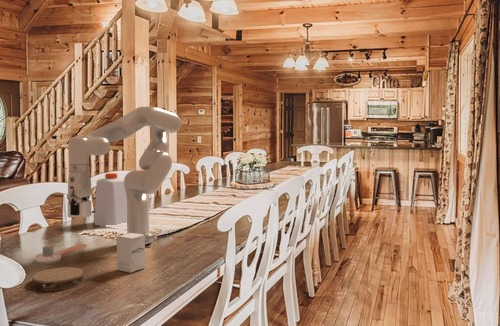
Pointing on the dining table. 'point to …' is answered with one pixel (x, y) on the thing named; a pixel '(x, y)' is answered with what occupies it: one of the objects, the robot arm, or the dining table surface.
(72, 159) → the robot arm
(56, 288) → the tambourine
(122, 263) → the supplement box
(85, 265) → the dining table surface
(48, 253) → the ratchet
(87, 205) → the white cube
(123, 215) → the plastic bottle
